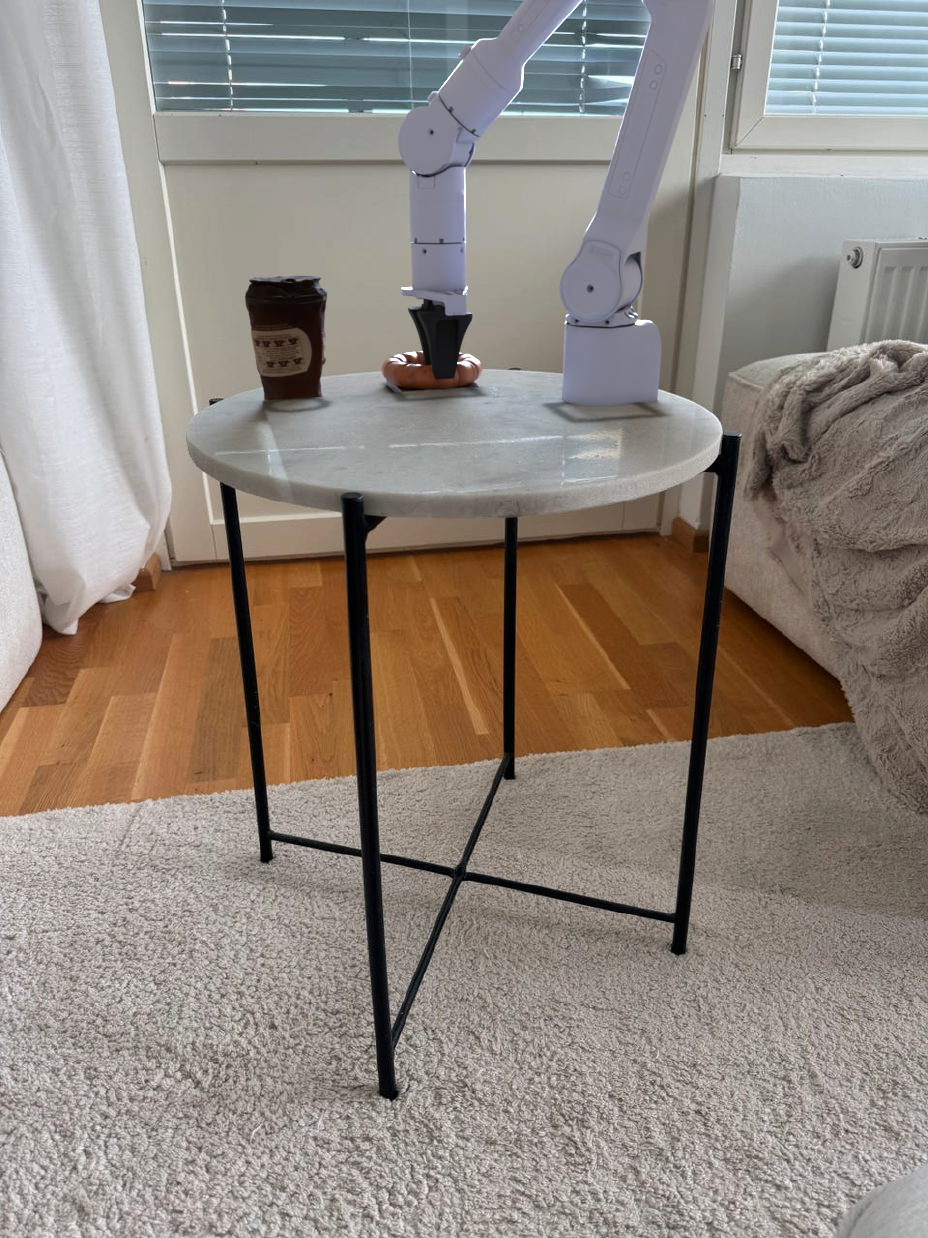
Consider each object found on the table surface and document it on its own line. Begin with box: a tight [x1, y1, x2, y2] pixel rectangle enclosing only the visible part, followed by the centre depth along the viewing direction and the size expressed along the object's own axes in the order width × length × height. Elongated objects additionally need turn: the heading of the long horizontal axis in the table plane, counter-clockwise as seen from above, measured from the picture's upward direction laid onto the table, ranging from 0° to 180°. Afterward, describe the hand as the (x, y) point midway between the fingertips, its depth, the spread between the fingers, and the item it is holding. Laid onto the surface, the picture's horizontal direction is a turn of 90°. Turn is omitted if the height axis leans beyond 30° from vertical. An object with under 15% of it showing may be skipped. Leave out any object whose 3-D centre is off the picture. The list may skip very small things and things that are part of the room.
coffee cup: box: [244, 275, 328, 402], centre depth 96 cm, size 9×8×13 cm
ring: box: [380, 350, 483, 391], centre depth 104 cm, size 11×11×3 cm
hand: (440, 375), depth 101 cm, fingers closed on ring, 3 cm apart
